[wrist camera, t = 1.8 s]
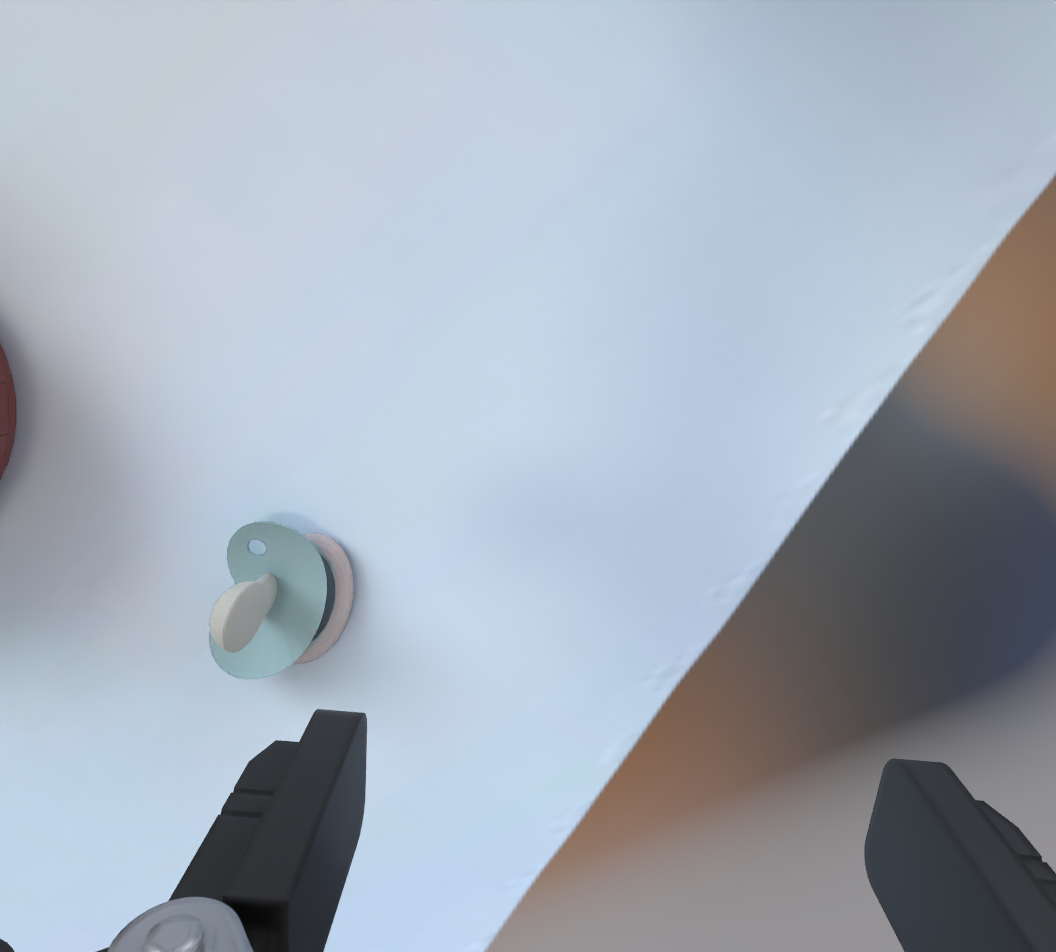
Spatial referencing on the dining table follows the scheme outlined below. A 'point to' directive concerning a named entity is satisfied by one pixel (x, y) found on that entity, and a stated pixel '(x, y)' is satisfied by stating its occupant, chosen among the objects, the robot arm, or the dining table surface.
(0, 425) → the pot
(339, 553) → the pacifier
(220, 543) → the dining table surface
